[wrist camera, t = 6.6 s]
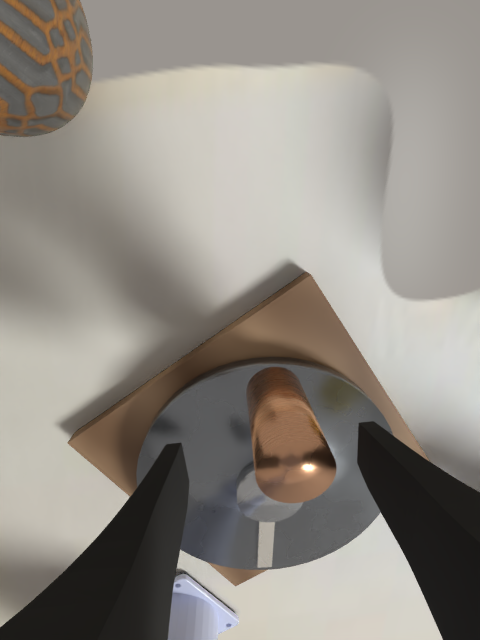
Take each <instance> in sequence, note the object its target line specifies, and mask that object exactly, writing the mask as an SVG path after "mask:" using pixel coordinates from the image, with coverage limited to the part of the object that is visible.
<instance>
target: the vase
mask: <svg viewBox="0 0 480 640" xmlns="http://www.w3.org/2000/svg"><path fill="white" fill-rule="evenodd" d="M92 68H93V56H92V46H91V39H90V34H89V29H88V25H87V21H86V17H85V14H84V11H83V8H82V5H81V2H80V0H0V135H3V136H14V137H29V136H37V135H42V134H46V133H50V132H52V131H55V130H57V129H59V128H61V127H62V126H64V125H65V124H67V123H68V122H69V121H71V120H72V119H73V118H74V117H75V116H76V115H77V113H78V112H79V111H80V109H81V108H82V106H83V104H84V102H85V100H86V98H87V95H88V93H89V89H90V85H91V80H92Z"/></svg>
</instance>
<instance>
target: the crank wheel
mask: <svg viewBox="0 0 480 640" xmlns="http://www.w3.org/2000/svg"><path fill="white" fill-rule="evenodd" d="M370 421H374V422H376V423H377V424H378V425H380V426H381V427H382V428H384V429H385V430H386V431H388V432H389V433H390V434H392V435H393V433H392V430H391V428H390V426H389V424H388V422H387V421H386V419H385V417H384V415H383V414H382V413H381V412H380V410H379V409H378V408H377V407H376V405H375V404H374V403H373V402H372V400H371V399H370V398H369V397H368V396H367V394H366V393H365V392H364V391H363V390H362V389H361V388H360V387H358V386H357V385H356V384H355V383H354V382H353V381H351V380H350V379H348V378H347V377H345V376H344V375H342V374H340V373H339V372H337V371H334V370H332V369H330V368H328V367H326V366H323V365H320V364H317V363H314V362H310V361H307V360H301V359H295V358H289V357H259V358H250V359H245V360H240V361H235V362H232V363H228V364H225V365H222V366H219V367H216V368H214V369H212V370H210V371H207V372H205V373H203V374H201V375H199V376H198V377H196V378H195V379H193V380H191V381H190V382H188V383H186V384H185V385H184V386H183V387H182V388H180V389H179V390H178V391H177V392H175V393H174V394H173V395H172V396H171V397H170V398H169V399H168V400H167V402H166V403H165V404H164V405H163V406H162V407H161V409H160V410H159V412H158V413H157V414H156V416H155V417H154V419H153V421H152V423H151V425H150V427H149V429H148V432H147V434H146V437H145V439H144V442H143V445H142V448H141V451H140V454H139V458H138V464H137V472H136V477H137V487H138V486H139V484H140V483H141V481H142V480H143V478H144V477H145V476H146V474H147V473H148V471H149V470H150V468H151V467H152V465H153V464H154V462H155V461H156V459H157V457H158V456H159V454H160V453H161V451H162V450H163V448H164V446H165V445H166V444H172V443H181V442H182V447H183V452H184V457H185V462H186V467H187V472H188V477H189V495H188V507H187V514H186V519H185V525H184V530H183V536H182V541H181V547H180V549H181V550H182V551H184V552H186V553H188V554H190V555H192V556H194V557H196V558H199V559H201V560H203V561H206V562H209V563H213V564H216V565H219V566H224V567H230V568H235V569H246V570H268V569H280V568H285V567H291V566H296V565H299V564H303V563H307V562H310V561H313V560H316V559H318V558H321V557H323V556H325V555H328V554H330V553H332V552H334V551H336V550H338V549H339V548H341V547H343V546H344V545H346V544H348V543H349V542H350V541H352V540H353V539H354V538H356V537H357V536H358V535H360V534H361V533H362V532H363V531H364V530H365V529H366V528H367V527H368V526H369V525H370V524H371V523H372V522H373V521H374V520H375V518H376V517H377V516H378V515H379V513H380V510H379V508H378V506H377V504H376V502H375V501H374V499H373V497H372V495H371V493H370V492H369V490H368V488H367V485H366V483H365V481H364V478H363V476H362V474H361V471H360V469H359V466H358V464H357V451H358V426H359V423H361V422H370Z"/></svg>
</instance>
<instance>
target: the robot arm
mask: <svg viewBox="0 0 480 640" xmlns="http://www.w3.org/2000/svg"><path fill="white" fill-rule="evenodd" d="M357 464H358V466H359V469H360V471H361V474H362V476H363V478H364V481H365V483H366V485H367V488H368V490H369V492H370V493H371V495H372V497H373V499H374V501H375V502H376V504H377V506H378V508H379V510H380V512H381V513H382V515H383V517H384V519H385V520H386V522H387V524H388V526H389V528H390V529H391V531H392V533H393V535H394V537H395V538H396V540H397V542H398V544H399V545H400V547H401V549H402V551H403V553H404V555H405V557H406V559H407V561H408V563H409V565H410V567H411V569H412V571H413V573H414V575H415V578H416V580H417V582H418V584H419V586H420V588H421V591H422V593H423V595H424V597H425V599H426V602H427V604H428V606H429V609H430V611H431V613H432V615H433V618H434V620H435V622H436V625H437V627H438V629H439V631H440V634H441V636H442V638H443V640H480V492H478V491H476V490H474V489H472V488H471V487H469V486H467V485H465V484H464V483H462V482H461V481H459V480H457V479H456V478H454V477H452V476H451V475H449V474H448V473H446V472H445V471H443V470H441V469H440V468H438V467H437V466H435V465H434V464H432V463H431V462H429V461H428V460H426V459H425V458H424V457H422V456H421V455H419V454H418V453H416V452H415V451H414V450H412V449H411V448H409V447H408V446H407V445H405V444H404V443H403V442H401V441H400V440H399V439H397V438H396V437H394V436H393V435H392V434H390V433H389V432H388V431H386V430H385V429H384V428H382V427H381V426H380V425H378V424H377V423H376V422H374V421H370V422H361V423H359V426H358V451H357ZM188 495H189V477H188V472H187V467H186V462H185V457H184V452H183V447H182V442H181V443H172V444H166V445H165V446H164V448H163V450H162V451H161V453H160V454H159V456H158V457H157V459H156V461H155V462H154V464H153V465H152V467H151V468H150V470H149V471H148V473H147V474H146V476H145V477H144V478H143V480H142V481H141V483H140V484H139V486H138V487H137V488H136V490H135V491H134V493H133V494H132V495H131V497H130V498H129V499H128V500H127V502H126V503H125V504H124V506H123V507H122V508H121V510H120V511H119V512H118V513H117V515H116V516H115V517H114V518H113V520H112V521H111V522H110V523H109V524H108V526H107V527H106V528H105V529H104V530H103V531H102V532H101V534H100V535H99V536H98V537H97V538H96V539H95V540H94V541H93V542H92V544H91V545H90V546H89V547H88V548H87V549H86V550H85V551H84V552H83V553H82V554H81V555H80V556H79V557H78V558H77V559H76V560H75V561H74V562H73V563H72V564H71V565H70V566H69V567H68V568H67V569H66V570H65V571H64V572H63V573H62V574H61V575H60V576H59V577H58V578H57V579H56V580H55V581H54V582H52V583H51V584H50V585H49V586H48V587H47V588H46V589H45V590H44V591H43V592H42V593H40V594H39V595H38V596H37V597H36V598H35V599H34V600H33V601H31V602H30V603H29V604H28V605H27V606H26V607H24V608H23V609H22V610H21V611H20V612H19V613H17V614H16V615H15V616H14V617H12V618H11V619H10V620H9V621H8V622H6V623H5V624H4V625H3V626H2V627H0V640H218V634H220V633H222V632H224V631H226V630H228V629H230V628H232V627H234V626H236V625H237V624H238V623H239V617H238V616H237V615H236V614H235V613H234V612H233V611H231V610H230V609H229V608H228V607H226V606H225V605H224V604H223V603H221V602H220V601H219V600H218V599H216V598H215V597H214V596H213V595H212V594H210V593H209V592H208V591H207V590H205V589H204V588H203V587H202V586H200V585H199V584H198V583H197V582H195V581H194V580H193V579H192V578H190V577H189V576H188V575H186V574H180V575H178V576H176V577H175V573H176V568H177V563H178V557H179V552H180V547H181V541H182V536H183V530H184V525H185V519H186V514H187V507H188Z"/></svg>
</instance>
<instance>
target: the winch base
mask: <svg viewBox="0 0 480 640" xmlns="http://www.w3.org/2000/svg"><path fill="white" fill-rule="evenodd" d="M259 357H289V358H295V359H301V360H307V361H310V362H314V363H317V364H320V365H323V366H326V367H328V368H330V369H332V370H334V371H337V372H339V373H340V374H342V375H344V376H345V377H347V378H348V379H350V380H351V381H353V382H354V383H355V384H356V385H357V386H358V387H360V388H361V389H362V390H363V391H364V392H365V393H366V394H367V396H368V397H369V398H370V399H371V400H372V402H373V403H374V404H375V405H376V407H377V408H378V409H379V410H380V412H381V413H382V414H383V415H384V417H385V419H386V421H387V422H388V424H389V426H390V428H391V430H392V433H393V436H394V437H396V438H397V439H399V440H400V441H401V442H403V443H404V444H405V445H407V446H408V447H409V448H411V449H412V450H414V451H415V452H416V453H418V454H419V455H421V456H422V457H424V458H425V459H426V460H428V461H429V459H428V458H427V456H426V455H425V453H424V452H423V450H422V448H421V447H420V445H419V444H418V442H417V441H416V439H415V437H414V436H413V434H412V433H411V431H410V430H409V428H408V426H407V425H406V423H405V422H404V420H403V419H402V417H401V415H400V414H399V412H398V411H397V409H396V408H395V406H394V404H393V403H392V401H391V400H390V398H389V397H388V395H387V393H386V392H385V390H384V389H383V387H382V386H381V384H380V382H379V381H378V379H377V378H376V376H375V375H374V373H373V371H372V370H371V368H370V367H369V365H368V364H367V362H366V360H365V359H364V357H363V356H362V354H361V353H360V351H359V349H358V348H357V346H356V345H355V343H354V342H353V340H352V338H351V337H350V335H349V334H348V332H347V331H346V329H345V327H344V326H343V324H342V323H341V321H340V320H339V318H338V316H337V315H336V313H335V312H334V310H333V309H332V307H331V305H330V304H329V302H328V301H327V299H326V298H325V296H324V294H323V293H322V291H321V290H320V288H319V287H318V285H317V283H316V282H315V280H314V279H313V277H312V276H311V274H309V273H307V272H305V273H304V274H302V275H301V276H299V277H298V278H296V279H295V280H294V281H292V282H291V283H289V284H288V285H286V286H285V287H283V288H282V289H281V290H279V291H278V292H276V293H275V294H273V295H272V296H271V297H269V298H268V299H266V300H265V301H263V302H262V303H260V304H259V305H258V306H256V307H255V308H253V309H252V310H250V311H249V312H247V313H246V314H245V315H243V316H242V317H240V318H239V319H237V320H236V321H235V322H233V323H232V324H230V325H229V326H227V327H226V328H224V329H223V330H222V331H220V332H219V333H217V334H216V335H214V336H213V337H211V338H210V339H209V340H207V341H206V342H204V343H203V344H201V345H200V346H198V347H197V348H196V349H194V350H193V351H191V352H190V353H188V354H187V355H186V356H184V357H183V358H181V359H180V360H178V361H177V362H175V363H174V364H173V365H171V366H170V367H168V368H167V369H165V370H164V371H162V372H161V373H160V374H158V375H157V376H155V377H154V378H152V379H151V380H150V381H148V382H147V383H145V384H144V385H142V386H141V387H139V388H138V389H137V390H135V391H134V392H132V393H131V394H129V395H128V396H126V397H125V398H124V399H122V400H121V401H119V402H118V403H116V404H115V405H114V406H112V407H111V408H109V409H108V410H106V411H105V412H103V413H102V414H101V415H99V416H98V417H96V418H95V419H93V420H92V421H90V422H89V423H88V424H86V425H85V426H83V427H82V428H80V429H79V430H77V431H76V432H75V433H74V434H73V436H72V437H71V439H70V440H69V441H68V444H69V445H70V446H71V447H73V448H74V449H75V450H76V451H77V452H78V453H80V454H81V455H82V456H83V457H84V458H85V459H87V460H88V461H89V462H90V463H91V464H93V465H94V466H95V467H96V468H97V469H98V470H100V471H101V472H102V473H103V474H104V475H105V476H107V477H108V478H109V479H110V480H111V481H112V482H114V483H115V484H116V485H117V486H118V487H120V488H121V489H122V490H123V491H124V492H125V493H127V494H128V495H129V496H130V497H131V495H132V494H133V493H134V491H135V490H136V488H137V477H136V472H137V464H138V458H139V454H140V451H141V448H142V445H143V442H144V439H145V437H146V434H147V432H148V429H149V427H150V425H151V423H152V421H153V419H154V417H155V416H156V414H157V413H158V412H159V410H160V409H161V407H162V406H163V405H164V404H165V403H166V402H167V400H168V399H169V398H170V397H171V396H172V395H173V394H174V393H175V392H177V391H178V390H179V389H180V388H182V387H183V386H184V385H185V384H186V383H188V382H190V381H191V380H193V379H195V378H196V377H198V376H199V375H201V374H203V373H205V372H207V371H210V370H212V369H214V368H216V367H219V366H222V365H225V364H228V363H232V362H235V361H240V360H245V359H250V358H259ZM429 462H430V461H429ZM208 563H209V562H208ZM209 564H210V565H211V566H212V567H213V568H215V569H216V570H217V571H218V572H219V573H220V574H222V575H223V576H224V577H225V578H226V579H228V580H229V581H230V582H231V583H232V584H233V585H235V586H237V585H239V584H241V583H243V582H245V581H247V580H249V579H251V578H253V577H254V576H256V575H258V574H260V573H262V572H264V571H266V570H246V569H235V568H230V567H224V566H219V565H216V564H213V563H209Z"/></svg>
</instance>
